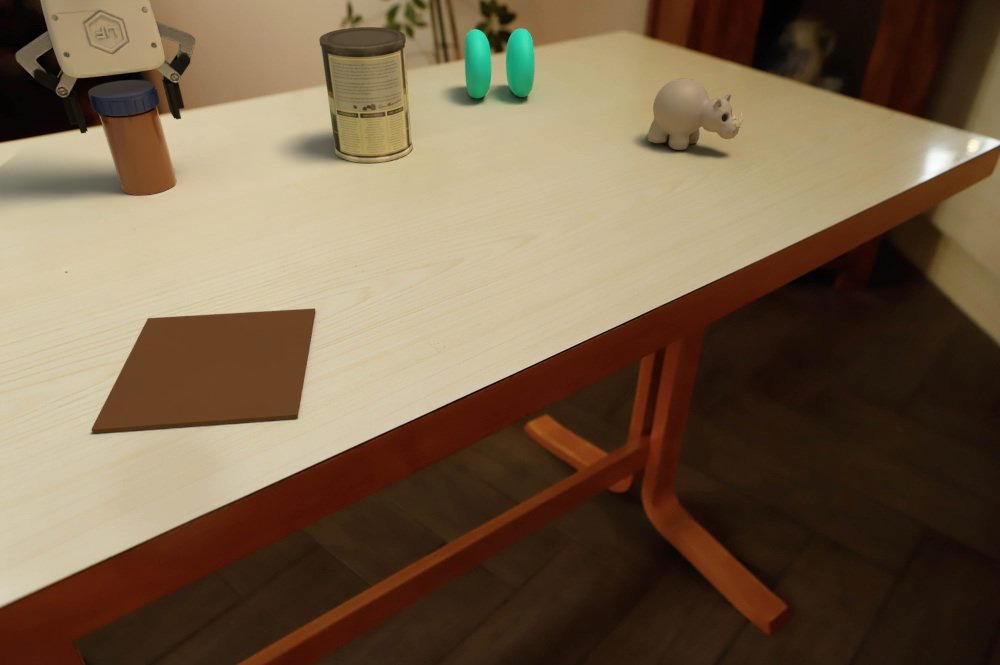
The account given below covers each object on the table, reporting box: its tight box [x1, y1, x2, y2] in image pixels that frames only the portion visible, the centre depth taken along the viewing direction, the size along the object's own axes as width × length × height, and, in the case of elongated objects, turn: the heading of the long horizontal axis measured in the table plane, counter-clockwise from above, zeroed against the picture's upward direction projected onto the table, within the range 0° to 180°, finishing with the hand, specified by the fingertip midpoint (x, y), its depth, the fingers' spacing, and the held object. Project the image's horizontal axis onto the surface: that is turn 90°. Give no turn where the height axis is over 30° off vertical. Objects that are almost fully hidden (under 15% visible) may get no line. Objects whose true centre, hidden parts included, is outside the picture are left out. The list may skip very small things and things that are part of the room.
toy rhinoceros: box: [647, 77, 744, 151], centre depth 94 cm, size 7×12×8 cm, turn 51°
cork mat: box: [90, 308, 317, 434], centre depth 56 cm, size 14×14×1 cm
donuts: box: [464, 27, 535, 99], centre depth 111 cm, size 10×10×10 cm
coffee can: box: [318, 26, 414, 164], centre depth 91 cm, size 10×10×14 cm
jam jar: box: [98, 105, 178, 196], centre depth 82 cm, size 6×6×11 cm
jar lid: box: [87, 79, 160, 115], centre depth 79 cm, size 7×7×2 cm
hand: (130, 122), depth 81 cm, fingers open, 9 cm apart
